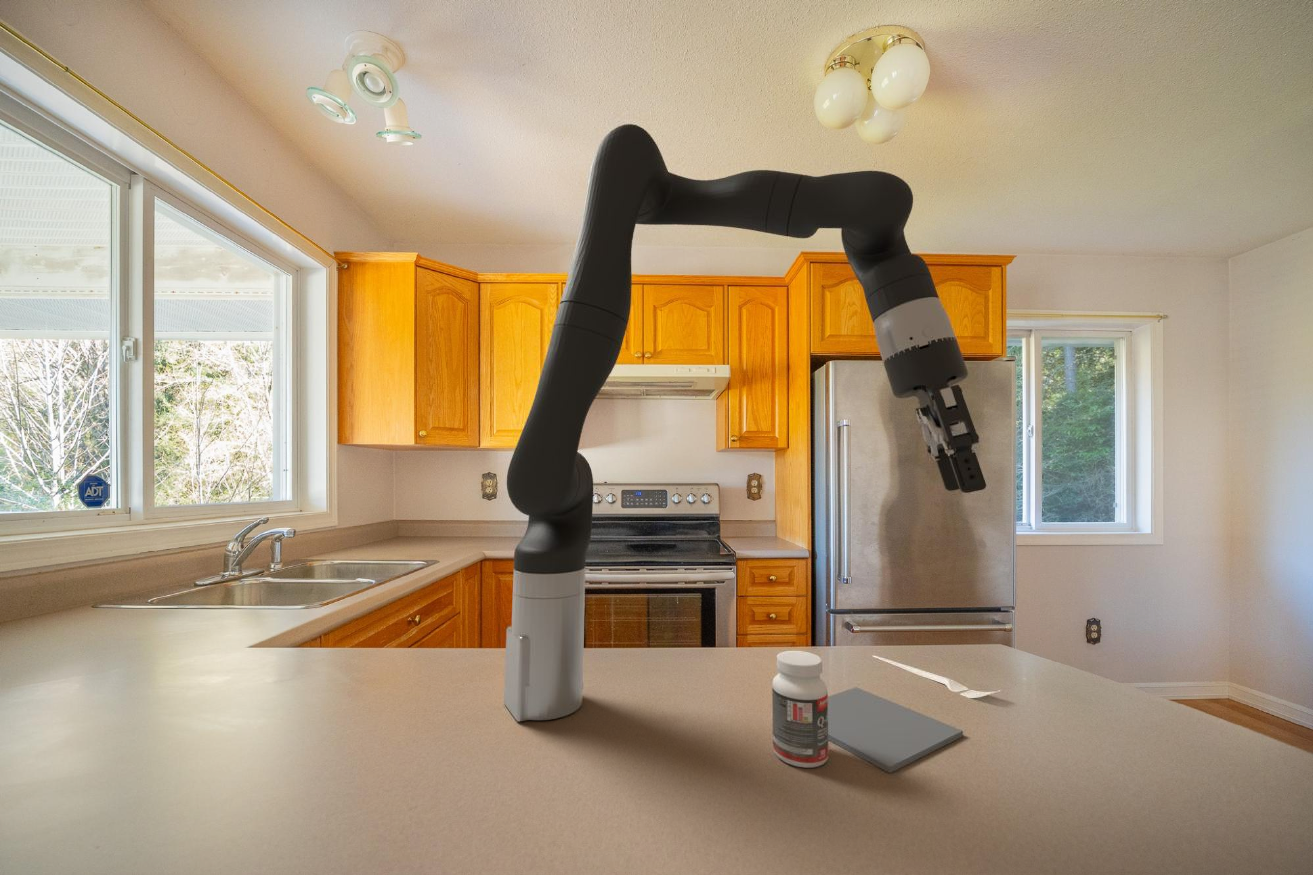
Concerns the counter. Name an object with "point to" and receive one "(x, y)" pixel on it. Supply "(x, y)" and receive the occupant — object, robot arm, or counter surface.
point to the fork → (940, 680)
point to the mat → (884, 729)
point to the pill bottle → (800, 710)
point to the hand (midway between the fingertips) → (965, 490)
